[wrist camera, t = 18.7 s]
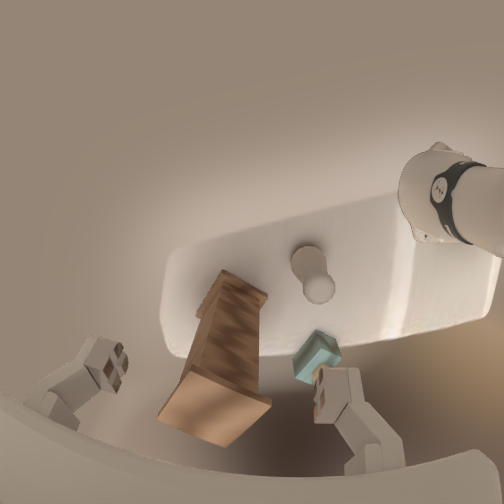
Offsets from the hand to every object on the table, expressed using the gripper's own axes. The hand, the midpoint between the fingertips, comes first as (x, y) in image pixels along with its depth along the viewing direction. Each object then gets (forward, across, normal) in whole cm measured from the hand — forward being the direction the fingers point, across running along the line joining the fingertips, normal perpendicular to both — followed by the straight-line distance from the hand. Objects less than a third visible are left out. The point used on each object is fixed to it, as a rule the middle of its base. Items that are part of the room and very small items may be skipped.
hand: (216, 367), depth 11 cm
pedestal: (+32, +4, +26) cm, 41 cm away
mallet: (+22, -15, +34) cm, 43 cm away
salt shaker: (+35, -8, +17) cm, 40 cm away
